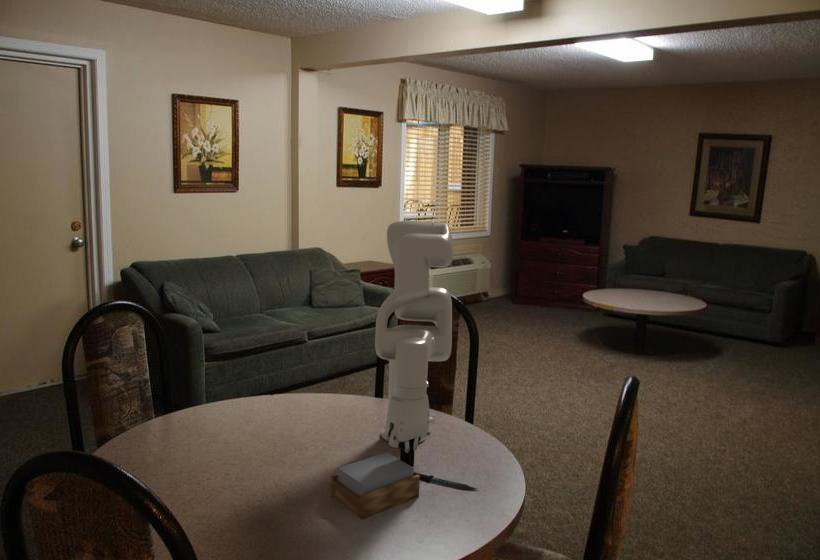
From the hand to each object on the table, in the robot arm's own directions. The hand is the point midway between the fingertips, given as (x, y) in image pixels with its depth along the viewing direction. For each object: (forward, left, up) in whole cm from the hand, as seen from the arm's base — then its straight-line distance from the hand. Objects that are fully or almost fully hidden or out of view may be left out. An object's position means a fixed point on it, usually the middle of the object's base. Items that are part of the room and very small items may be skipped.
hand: (406, 465), depth 152 cm
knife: (-7, +3, -6) cm, 10 cm away
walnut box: (+9, 0, -5) cm, 10 cm away
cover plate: (+9, 0, -1) cm, 9 cm away
